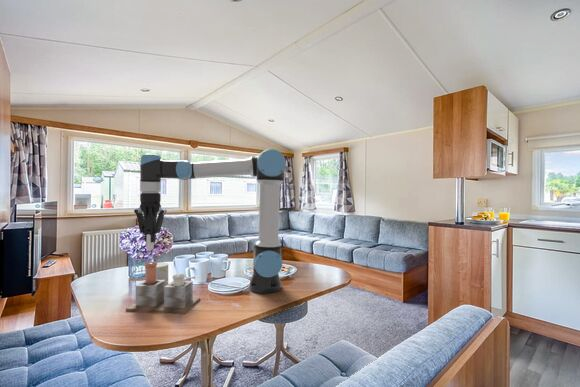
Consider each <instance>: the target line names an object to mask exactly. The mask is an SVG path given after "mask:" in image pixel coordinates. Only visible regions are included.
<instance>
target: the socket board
mask: <svg viewBox="0 0 580 387" xmlns="http://www.w3.org/2000/svg"><path fill="white" fill-rule="evenodd" d="M193 282H194V281H193V280H184V285H183V286H173V281H171V282H169V283H168V285H166V286H165V280H156V284H154V285H146V280H144V281H142V282H140V283H138V284H136V285H135V302H134V303H132V304H131V305H129V306H128V307H126V308H125V311H126V312H140V313H141V312H142V313H155V314H175V315H176V314H177V315H185V314H187V313H188V312H189V311H190V310H191V309H192V308H193V307H194V306H195V305H197V304H198V302H200V301H201V297H194V295H193V294H194V293H193V292H194V291H193Z"/></svg>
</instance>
